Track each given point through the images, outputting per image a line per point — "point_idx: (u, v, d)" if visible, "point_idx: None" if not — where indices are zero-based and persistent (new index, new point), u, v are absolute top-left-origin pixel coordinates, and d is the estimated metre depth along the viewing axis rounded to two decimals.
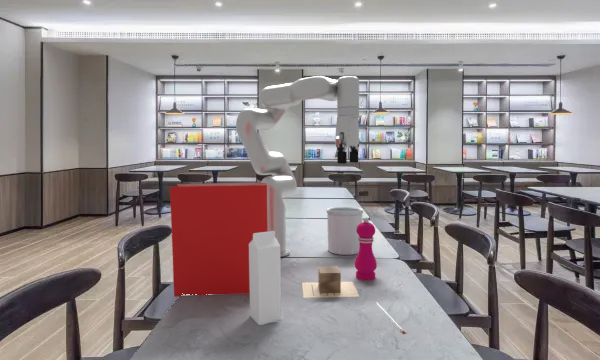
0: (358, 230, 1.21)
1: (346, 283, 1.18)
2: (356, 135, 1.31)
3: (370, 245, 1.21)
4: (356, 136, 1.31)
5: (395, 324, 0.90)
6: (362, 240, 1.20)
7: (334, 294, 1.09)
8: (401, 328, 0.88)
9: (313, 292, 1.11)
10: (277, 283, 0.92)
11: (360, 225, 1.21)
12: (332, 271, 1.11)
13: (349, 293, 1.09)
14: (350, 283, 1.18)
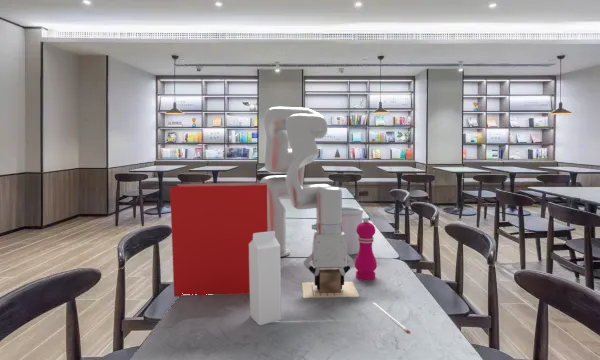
0: (358, 230, 1.21)
1: (346, 283, 1.18)
2: None
3: (370, 245, 1.21)
4: None
5: (398, 324, 0.90)
6: (362, 240, 1.20)
7: (334, 294, 1.09)
8: None
9: (313, 292, 1.11)
10: (277, 283, 0.92)
11: (360, 225, 1.21)
12: (332, 271, 1.11)
13: (349, 293, 1.09)
14: (350, 283, 1.18)
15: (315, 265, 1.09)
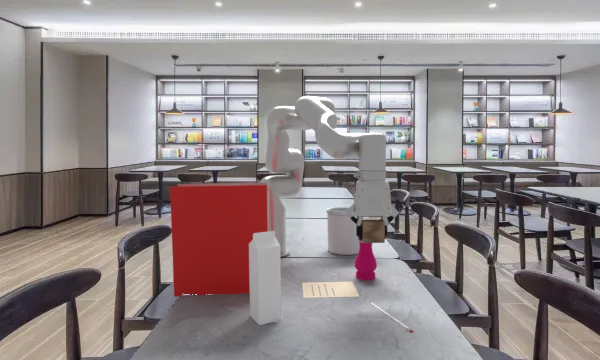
0: None
1: (346, 283, 1.18)
2: None
3: (370, 245, 1.21)
4: None
5: (400, 323, 0.90)
6: None
7: (334, 294, 1.09)
8: (407, 327, 0.88)
9: (313, 292, 1.11)
10: (277, 283, 0.92)
11: None
12: (376, 221, 1.06)
13: (349, 293, 1.09)
14: (350, 283, 1.18)
15: (358, 214, 1.05)
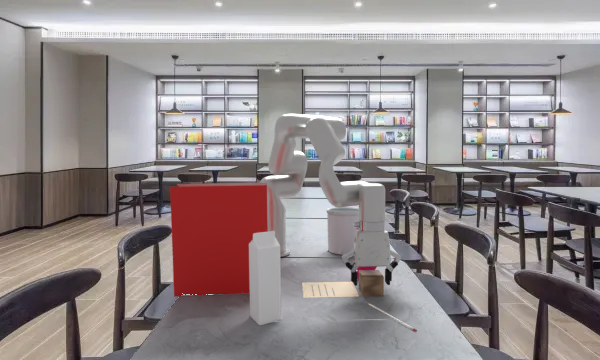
0: None
1: (346, 283, 1.18)
2: None
3: None
4: None
5: (402, 323, 0.91)
6: None
7: (334, 294, 1.09)
8: (410, 326, 0.89)
9: (313, 292, 1.11)
10: (277, 283, 0.92)
11: None
12: (375, 275, 1.08)
13: (349, 293, 1.09)
14: (350, 283, 1.18)
15: (358, 264, 1.07)
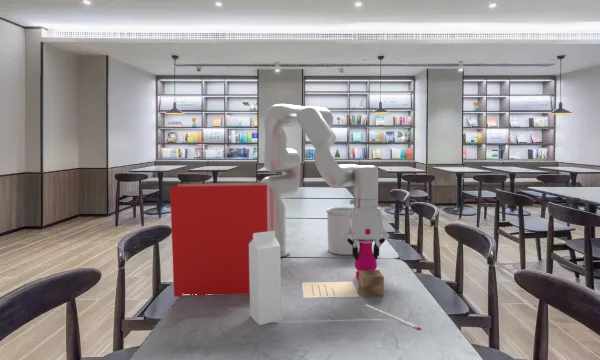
0: None
1: (346, 283, 1.18)
2: None
3: (370, 245, 1.21)
4: None
5: (404, 322, 0.91)
6: (362, 240, 1.20)
7: (334, 294, 1.09)
8: (414, 325, 0.89)
9: (313, 292, 1.11)
10: (277, 283, 0.92)
11: None
12: (375, 275, 1.08)
13: (349, 293, 1.09)
14: (350, 283, 1.18)
15: (354, 237, 1.19)
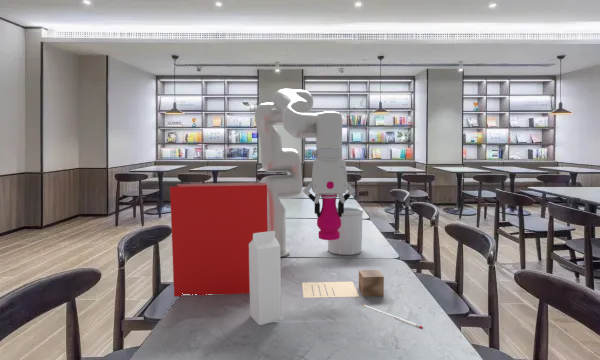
0: None
1: (346, 283, 1.18)
2: None
3: (333, 201, 1.09)
4: None
5: (406, 322, 0.91)
6: (324, 195, 1.09)
7: (334, 294, 1.09)
8: (416, 324, 0.90)
9: (313, 292, 1.11)
10: (277, 283, 0.92)
11: None
12: (375, 275, 1.08)
13: (349, 293, 1.09)
14: (350, 283, 1.18)
15: (315, 191, 1.08)
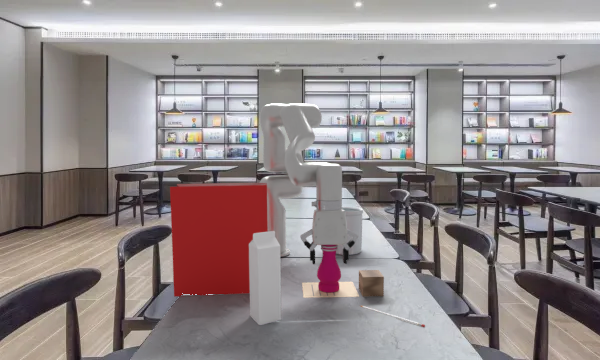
0: None
1: (346, 283, 1.18)
2: None
3: (333, 253, 1.11)
4: None
5: (407, 321, 0.92)
6: (325, 248, 1.10)
7: (334, 294, 1.09)
8: None
9: (313, 292, 1.11)
10: (277, 283, 0.92)
11: None
12: (375, 275, 1.08)
13: (349, 293, 1.09)
14: (350, 283, 1.18)
15: (315, 242, 1.09)
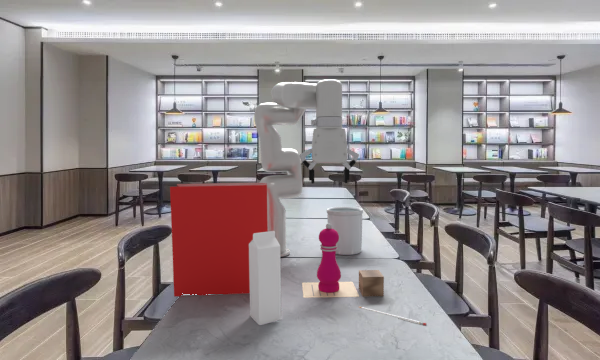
0: (320, 237, 1.10)
1: (346, 283, 1.18)
2: None
3: (333, 254, 1.11)
4: None
5: (408, 320, 0.92)
6: (324, 248, 1.10)
7: (334, 294, 1.09)
8: (419, 321, 0.91)
9: (313, 292, 1.11)
10: (277, 283, 0.92)
11: (322, 232, 1.10)
12: (375, 275, 1.08)
13: (349, 293, 1.09)
14: (350, 283, 1.18)
15: (315, 160, 1.07)
